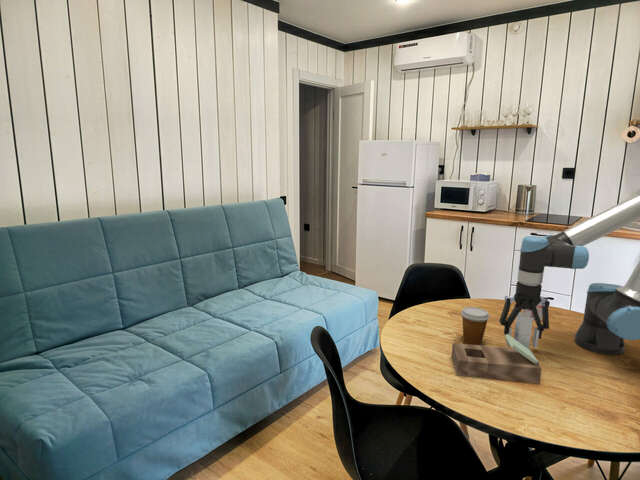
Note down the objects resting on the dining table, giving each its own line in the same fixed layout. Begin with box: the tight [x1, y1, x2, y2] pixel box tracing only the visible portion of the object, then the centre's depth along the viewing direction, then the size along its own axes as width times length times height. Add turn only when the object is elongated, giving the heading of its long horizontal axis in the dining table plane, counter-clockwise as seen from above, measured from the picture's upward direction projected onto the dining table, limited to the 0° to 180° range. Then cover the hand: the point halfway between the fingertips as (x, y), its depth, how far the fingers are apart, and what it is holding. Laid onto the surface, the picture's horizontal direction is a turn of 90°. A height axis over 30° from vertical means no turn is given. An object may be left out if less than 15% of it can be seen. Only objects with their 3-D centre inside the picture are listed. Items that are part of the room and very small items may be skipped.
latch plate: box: [504, 334, 540, 365], centre depth 129 cm, size 10×8×1 cm
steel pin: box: [513, 311, 534, 350], centre depth 142 cm, size 4×4×14 cm
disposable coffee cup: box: [460, 306, 490, 346], centre depth 150 cm, size 10×10×12 cm
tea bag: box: [522, 296, 545, 322], centre depth 173 cm, size 4×7×10 cm, turn 66°
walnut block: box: [451, 342, 543, 385], centre depth 132 cm, size 24×12×5 cm, turn 80°
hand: (521, 345), depth 143 cm, fingers open, 8 cm apart
